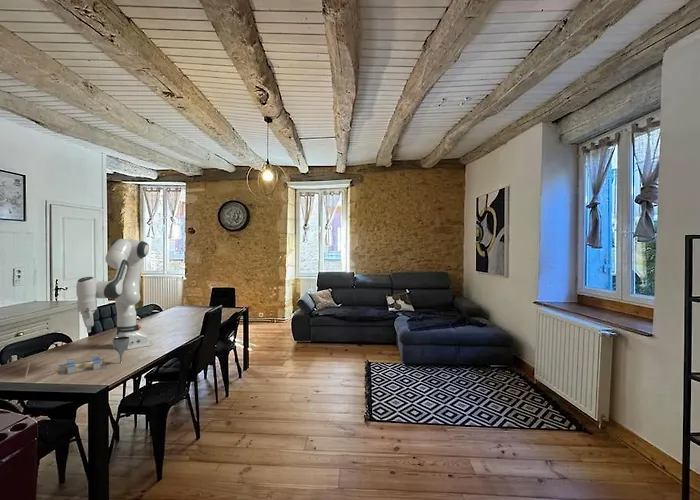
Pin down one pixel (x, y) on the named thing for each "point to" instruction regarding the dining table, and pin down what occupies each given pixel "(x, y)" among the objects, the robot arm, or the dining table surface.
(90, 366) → the bar
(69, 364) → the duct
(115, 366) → the dining table surface
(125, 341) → the grey funnel
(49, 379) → the dining table surface
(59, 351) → the dining table surface
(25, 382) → the dining table surface
